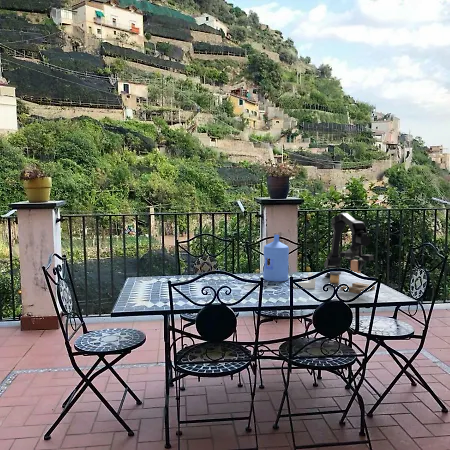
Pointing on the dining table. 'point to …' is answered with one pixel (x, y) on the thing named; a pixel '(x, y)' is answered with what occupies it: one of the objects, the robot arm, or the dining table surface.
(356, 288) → the notched board
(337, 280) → the bobbin
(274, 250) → the water jug
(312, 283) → the bracket
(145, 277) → the dining table surface
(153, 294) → the dining table surface
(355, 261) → the salmon orange block
